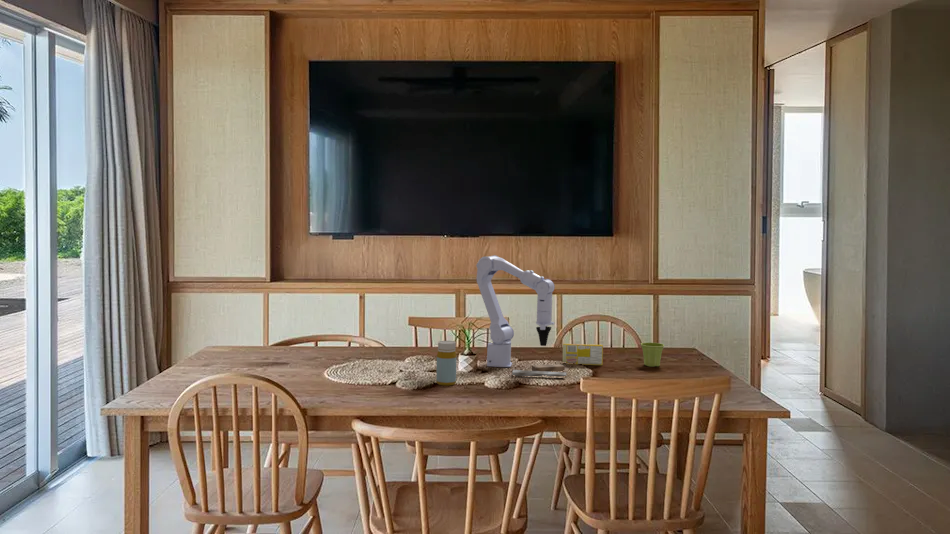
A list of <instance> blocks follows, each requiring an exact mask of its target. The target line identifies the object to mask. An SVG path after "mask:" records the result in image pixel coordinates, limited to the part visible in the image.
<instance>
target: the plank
mask: <svg viewBox="0 0 950 534" xmlns="http://www.w3.org/2000/svg"><path fill="white" fill-rule="evenodd" d="M565 368H566V366H565V365H564V364H560V363H557V364H554V363H553V364H540V365H539V364H538V365H537V364H536V365H534V364H533V365H531V371H548V372H551V371H563V370H565Z"/></svg>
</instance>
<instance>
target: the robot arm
mask: <svg viewBox="0 0 950 534" xmlns="http://www.w3.org/2000/svg"><path fill="white" fill-rule="evenodd" d="M475 266H476V269H477V270H476V278H475V279H476V283H477V286H478V290H479V292H480V294H481V298H482V300H483V303H484V306H485V309H486V311H487V315H488V318H489V320H490V325H489V330H490V335H489V337H490V339H491V341H492V342H488V343H487V349H486V350H487V353H486V355H487V356H486V366H487V367H496V368H497V367H498V368H511V367H512V365H513V362H511V360H512V359H511V356H512V339H513V338H514V335H515V331H514V329H513V327H512V326H511V325H510V322H509V321H508V320H507V319H506V318H505V317H504V315H503V311H502V309H501V306H500V302H499V300H498V297H497V294H496V292H495V289H494V286H493V283H492V279H493V277H494V276H495V274H496V273H497V272H498V271H503V272H506V273H507V274H509V275H512V276H513V277H516V278H518V279H519V280H520V283H521V284H523V286H527V287H528V288H529V289H532V290H533V291H535V293H536V294H537V300H536V303H537V304H536V321H535V324H536V325H537V327H535V328H536V329H535V330H536V332H537V334H538V339H539V344H540V346H541V347H546V346H547V343H548V338H549V335H550V332H551V330H552V326H551V325H553V326H554V325H555V322H554V321H552V313H553V292H554V291H555V282H553V281H552V280H551V279H550V278H545V277H544V276H540V275H538V274H537V273H535V271H534V270H532V269H530V270H528V269H527V270H522V269H521V268H519V267H518V266H516V265H514V264H513V263H511V262H509V261H507V260H506V259H504V258H503V257H499V256H498V255H496V254H494V255H490V256H482V257H480V258H479V260H478V261H477V263H476V265H475Z"/></svg>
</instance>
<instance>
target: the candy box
mask: <svg viewBox="0 0 950 534" xmlns="http://www.w3.org/2000/svg"><path fill="white" fill-rule="evenodd" d="M603 352H604V345H603V344H589V343H587V344H586V343H585V344H583V343H579V344H578V343H562V362H566V363H576V364H575V365H578V364H582V365H581V366H584V365H585V366H603V363H604V362H603V358H604V357H603V356H604V355H603V354H604V353H603Z"/></svg>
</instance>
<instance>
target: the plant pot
mask: <svg viewBox="0 0 950 534" xmlns="http://www.w3.org/2000/svg"><path fill="white" fill-rule="evenodd" d="M640 345H641V348H642V355H643V365H644V366H647V367H660V365H661V359H662V352H663V350H664V347H665V344H664V343H660V342H659V343H658V342H641V343H640Z"/></svg>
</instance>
